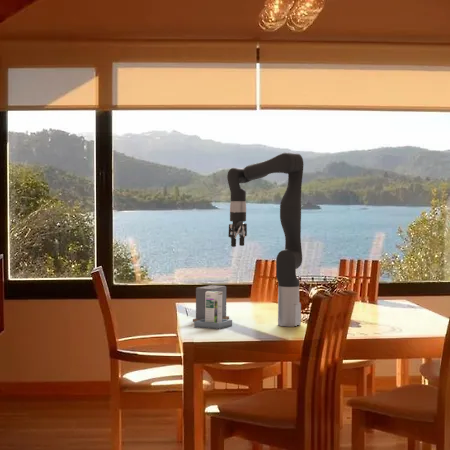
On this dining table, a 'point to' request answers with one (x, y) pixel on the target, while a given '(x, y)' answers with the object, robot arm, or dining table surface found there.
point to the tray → (213, 324)
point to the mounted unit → (201, 300)
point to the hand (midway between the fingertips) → (237, 246)
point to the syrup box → (213, 306)
